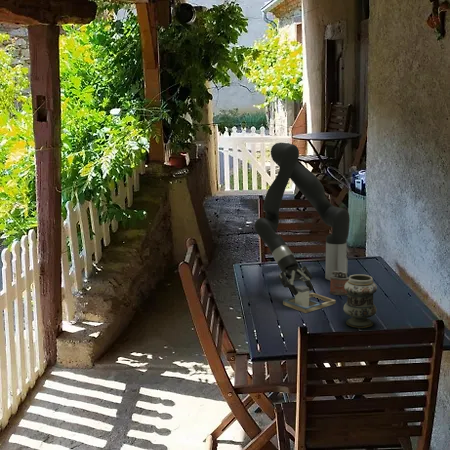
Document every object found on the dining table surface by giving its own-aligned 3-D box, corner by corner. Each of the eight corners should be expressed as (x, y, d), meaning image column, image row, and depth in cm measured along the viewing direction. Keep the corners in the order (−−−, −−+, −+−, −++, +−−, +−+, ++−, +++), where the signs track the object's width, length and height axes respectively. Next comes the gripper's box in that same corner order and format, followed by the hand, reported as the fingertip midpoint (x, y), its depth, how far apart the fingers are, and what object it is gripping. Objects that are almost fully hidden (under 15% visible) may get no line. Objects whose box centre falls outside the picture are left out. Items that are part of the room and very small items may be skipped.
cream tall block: (302, 304, 257) (302, 285, 255) (309, 306, 254) (309, 287, 252) (295, 306, 255) (295, 287, 253) (301, 308, 252) (302, 289, 250)
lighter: (349, 293, 269) (349, 271, 267) (348, 295, 266) (348, 273, 264) (330, 291, 272) (330, 269, 269) (329, 294, 268) (329, 271, 266)
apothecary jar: (371, 316, 241) (372, 272, 238) (379, 328, 230) (381, 281, 226) (339, 317, 241) (341, 272, 237) (347, 329, 229) (348, 282, 225)
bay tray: (312, 295, 267) (312, 291, 266) (335, 303, 257) (335, 299, 256) (283, 304, 257) (283, 300, 256) (305, 313, 247) (305, 308, 246)
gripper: (276, 256, 252) (296, 291, 245) (301, 250, 260) (321, 283, 254) (267, 266, 257) (286, 300, 251) (292, 260, 265) (312, 293, 259)
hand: (304, 292), depth 252 cm, fingers open, 8 cm apart
